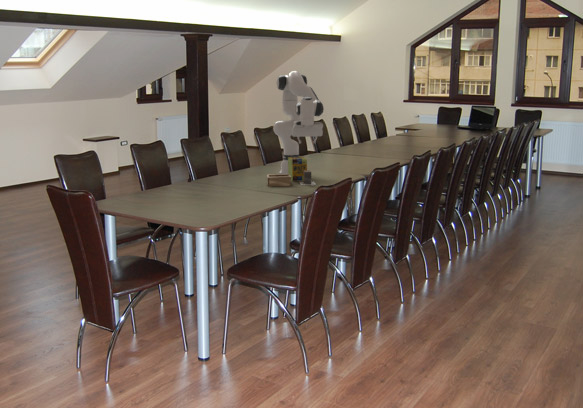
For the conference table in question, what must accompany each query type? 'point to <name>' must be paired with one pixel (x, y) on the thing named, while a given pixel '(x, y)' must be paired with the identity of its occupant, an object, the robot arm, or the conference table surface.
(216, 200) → the conference table surface
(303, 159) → the protein box
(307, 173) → the capped block
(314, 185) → the felt pad
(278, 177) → the brown wooden open box
